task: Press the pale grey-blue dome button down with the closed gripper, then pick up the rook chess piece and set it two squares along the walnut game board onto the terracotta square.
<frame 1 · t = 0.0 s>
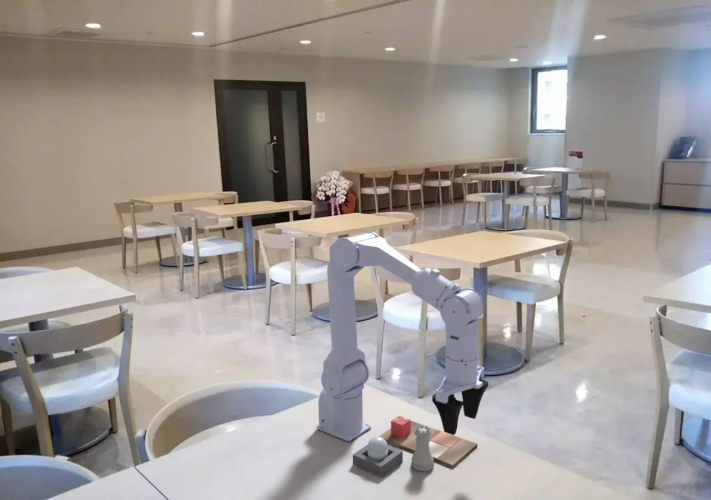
hand: (460, 424, 110), 10 cm above the table, fingers open, 7 cm apart
dome housing: (377, 463, 116), on the table
game board: (427, 442, 123), on the table
rook chess piece: (422, 467, 115), on the table
dome button: (377, 448, 115), point 3 cm above the table, slide at 0.0 cm
red die: (400, 435, 126), resting on game board
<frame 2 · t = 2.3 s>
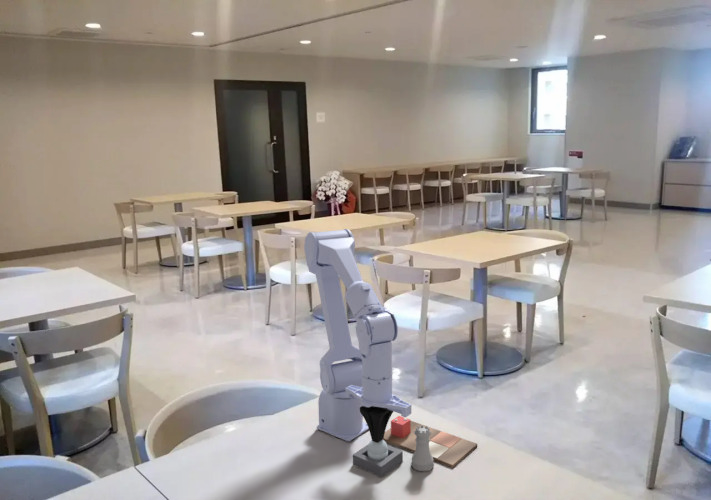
hand: (377, 439, 115), 5 cm above the table, fingers closed, pressing on dome button
dome button: (377, 449, 115), point 3 cm above the table, slide at 0.3 cm, touching gripper
everything else where it was.
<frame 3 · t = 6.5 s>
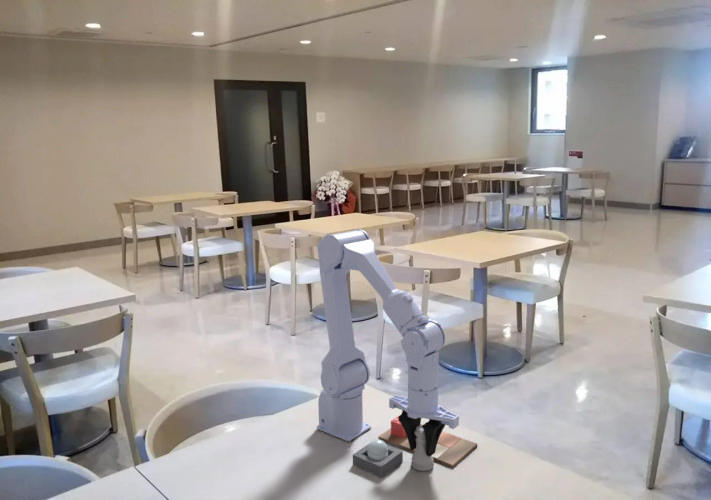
hand: (422, 450, 114), 3 cm above the table, fingers closed on rook chess piece, 3 cm apart
rook chess piece: (422, 466, 115), on the table, touching gripper
dome button: (377, 451, 115), point 3 cm above the table, slide at 0.6 cm, touching dome housing
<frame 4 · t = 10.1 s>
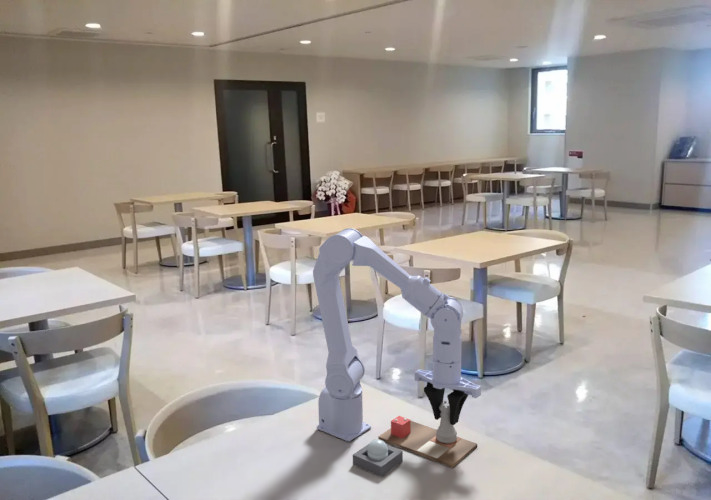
hand: (446, 420, 122), 5 cm above the table, fingers closed on rook chess piece, 3 cm apart
rook chess piece: (446, 439, 123), point 1 cm above the table, touching game board, gripper
everything else where it was.
when the fingers open (5 cm above the table, at t = 11.1 s): rook chess piece stays where it is, resting on game board.
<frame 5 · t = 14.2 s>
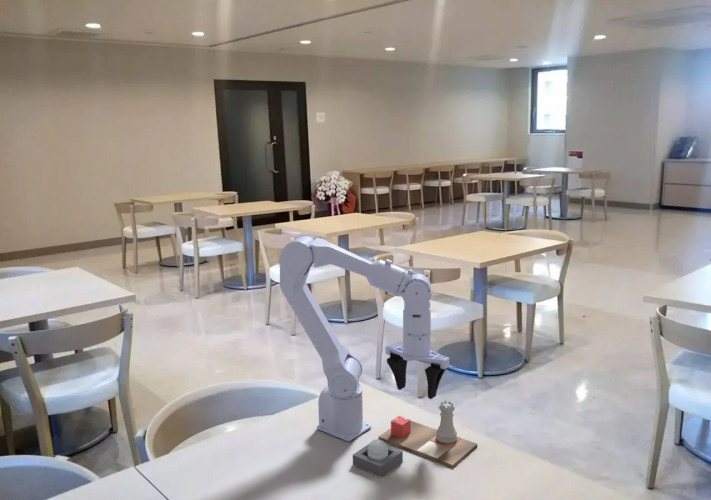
hand: (416, 392, 125), 9 cm above the table, fingers open, 7 cm apart
rook chess piece: (446, 440, 123), point 1 cm above the table, touching game board
everything else where it was.
at the end: dome button slide at 0.6 cm; rook chess piece 0.1 cm from the target spot, point 0.5 cm above the table; rook chess piece tilted 0° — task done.
